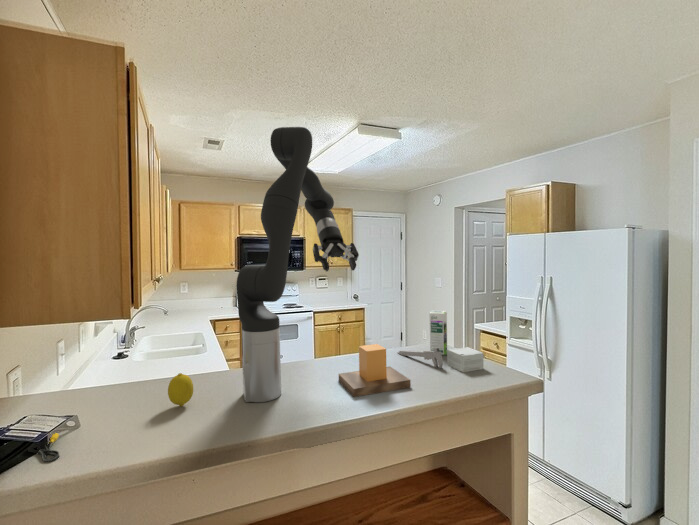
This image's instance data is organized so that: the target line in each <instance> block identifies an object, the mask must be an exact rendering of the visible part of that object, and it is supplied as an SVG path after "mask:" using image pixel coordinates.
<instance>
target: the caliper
mask: <svg viewBox="0 0 699 525" xmlns="http://www.w3.org/2000/svg"><path fill="white" fill-rule="evenodd" d="M397 353H398V354H399V355H400V354H401V355H400V356H407V357H419V358H423V359H424V361H425V360H426V361H428V360H429V361H430V360H431V361H432V364H433V366H434V368H438V369H442V368H443V366H444V365H443V356H442V354H441V352H440V351H439V348H434V351H430V350H423V351H415V350H398V352H396V354H397Z"/></svg>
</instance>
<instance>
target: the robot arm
mask: <svg viewBox="0 0 699 525" xmlns="http://www.w3.org/2000/svg"><path fill="white" fill-rule="evenodd" d="M312 135H313V134H312V132H311V130H310V129H309V128H307V127H305V126H283V127H277V128H274V129H273V130H272V132H271V135H270V147H271V151H272V153H273V155H274V157H275V158H276V160H277V161H278V162H279V163H280V164H281V165H282V166H283V168H284V169H285V170H284V172H282V174H281V175H279V177H278V178H277V179H276V180H275V181H274V182H272V184H271V185H270V186H269V188H268V189H267V191H266V192H265V195H264V198H263V203H262V207H261V212H260V220H261V225H262V228H263V230H264V232H265V235H266V237H267V242H268V255H267V260H266V263H265V264H248V265H244V266H243V267H241V268H240V270H239V271H238V274H237V277H236V299H237V309H238V310H237V312H238V318H239V321H240V323H241V334H242V337H241V340H242V358H241V359H242V360H241V361H242V385H243V387H242V389H243V391H242V392H243V398H244V402H245V403H249V402H252V403H265V402H269V401H274V400H276V399H277V398H279V397H280V396H281V395H282V370H281V368H282V366H281V365H282V364H281V332H280V331H281V329H280V318H279V316H278V315H277V314H276V313H274V312H272V311H270V310H269V309H268V308H267V307H266V306H265V304H264V303H268V302H269V303H273V302H275V303H276V302H277V301H279V300H280V299H281V297H283V294H284V292H285V288H286V283H287V276H288V266H289V256H290V248H291V241H292V237H293V232H294V226H295V223H296V219H297V214H298V209H299V203H300V197H301V192H302V194H303V196H304V198H305V200H304V201H305V202H304V208H305V210H306V211H307V213H308V214H309V216H311V218H312V219H313V221H314V224H315V227H316V233H317V237H318V240H319V243H320V245H319V244H318V243H313V247H312V253H313V259H314V262H316V263H319V262H320V263H321V266H322V270H324V271H325V272H329V270H330V264H329V261H328V260H329V257H330V258H341V259H343V260H346V261H347V262H348V263H349V264H348V265H349V266H350V270H351V271H355V269H356V268H357V260H358V258H359V256H360V254H359V252H358V250H357V247H356V246H355V244H354V242H351V243H350V244H347V243H345V242H344V238H343V235H342V233H341V230H340V227H339V225H338V223H337V221H336V218H335V215H334V213H333V211H332V209H333V208H334V205H335V201H334V197H333V196H332V194H331V193H330V192H329V191H328V190H327V189H325V187H323V185H322V183H321V181H320V179H319V176H318V175H317V173H316V172H315V171H314V170H313V169H311V168H310V167H309V162H310V159H311V154H312V151H313V136H312ZM320 251H322V252H323V254H322V255H320Z"/></svg>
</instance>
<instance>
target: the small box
mask: <svg viewBox="0 0 699 525" xmlns="http://www.w3.org/2000/svg"><path fill="white" fill-rule="evenodd" d="M446 358H447V359H446V360H447V366H449V367H450V368H453V369H455V370H457V371H459V372H461V373H466V372H473V371H478V370H484V369H485V368H484V367H485V366H484V363H485V362H484V352H482V351H479V350H476V349H473V348H472V347H468V346H465V347H464V346H463V347H457V348H449V349H447V355H446Z"/></svg>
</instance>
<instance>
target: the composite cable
mask: <svg viewBox="0 0 699 525" xmlns="http://www.w3.org/2000/svg"><path fill="white" fill-rule="evenodd" d="M54 433H55V434H54ZM54 433H52V434H51V435H52V437H51V438H50V442H49V444H48V445H47V446H46V445H45V448H44V449H40V450H39V451H38V454H37V455H40V456H41V459H42V461H43V463H51V462H55V461H57V460H59V459H60V458H59V457H61V456H60V453H59V451H58V450H53V449H50V447H52V444H54V443H55V442H56V441H57V440H58V439H59V437H60V434H59V433H56V432H54ZM47 456H51V458H47ZM58 458H59V459H58Z"/></svg>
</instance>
